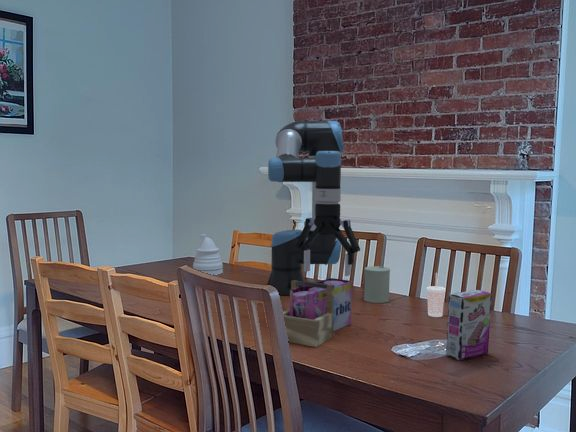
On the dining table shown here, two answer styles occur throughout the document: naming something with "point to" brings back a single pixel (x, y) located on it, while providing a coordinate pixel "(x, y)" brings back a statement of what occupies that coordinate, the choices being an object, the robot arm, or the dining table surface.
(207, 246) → the honey pot
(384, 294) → the can
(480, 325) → the candy bar box
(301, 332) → the dispenser
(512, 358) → the dining table surface
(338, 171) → the robot arm
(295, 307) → the gum box
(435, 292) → the beverage cup
